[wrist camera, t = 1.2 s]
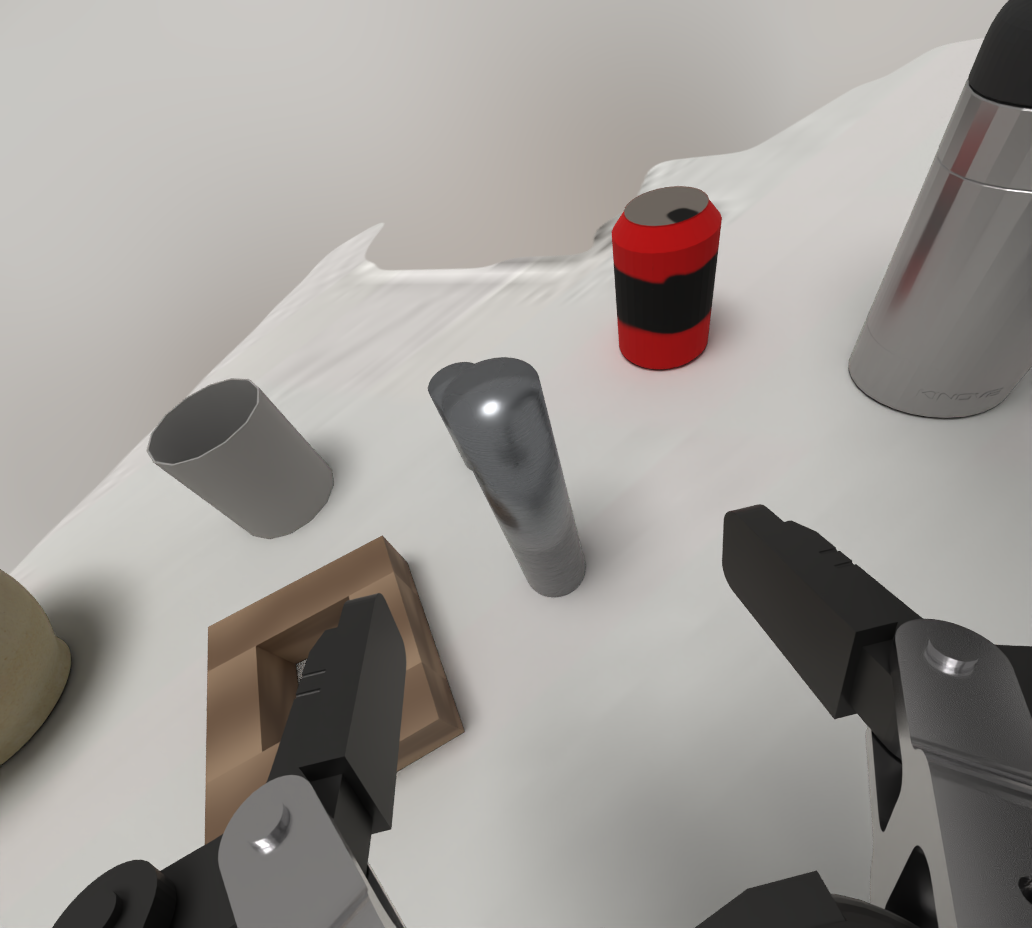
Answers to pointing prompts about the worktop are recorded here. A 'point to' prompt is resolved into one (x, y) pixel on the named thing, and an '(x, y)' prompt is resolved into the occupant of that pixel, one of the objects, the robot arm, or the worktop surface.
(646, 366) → the soda can
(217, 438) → the cup
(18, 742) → the planter bowl
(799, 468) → the worktop surface
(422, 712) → the walnut bored block
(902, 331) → the robot arm
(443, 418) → the short steel pin
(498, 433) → the long steel pin
